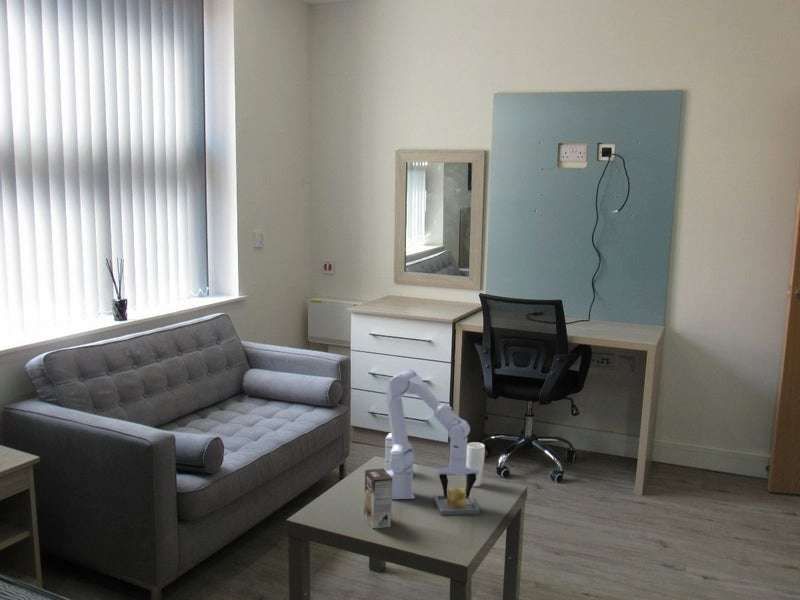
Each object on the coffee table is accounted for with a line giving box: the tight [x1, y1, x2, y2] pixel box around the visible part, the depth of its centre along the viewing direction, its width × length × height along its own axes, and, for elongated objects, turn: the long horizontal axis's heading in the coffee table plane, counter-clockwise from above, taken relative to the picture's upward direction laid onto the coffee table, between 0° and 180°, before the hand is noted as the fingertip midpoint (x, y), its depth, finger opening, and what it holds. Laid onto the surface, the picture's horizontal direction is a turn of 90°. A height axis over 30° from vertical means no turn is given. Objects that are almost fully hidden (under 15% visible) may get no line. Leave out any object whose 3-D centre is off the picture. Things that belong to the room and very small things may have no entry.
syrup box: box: [384, 432, 393, 471], centre depth 271 cm, size 6×6×14 cm
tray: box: [433, 493, 481, 516], centre depth 242 cm, size 13×13×2 cm
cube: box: [447, 487, 466, 508], centre depth 242 cm, size 5×5×5 cm
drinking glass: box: [466, 441, 486, 488], centre depth 261 cm, size 7×7×15 cm
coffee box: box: [363, 468, 393, 529], centre depth 228 cm, size 9×6×16 cm
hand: (456, 495), depth 242 cm, fingers open, 7 cm apart
